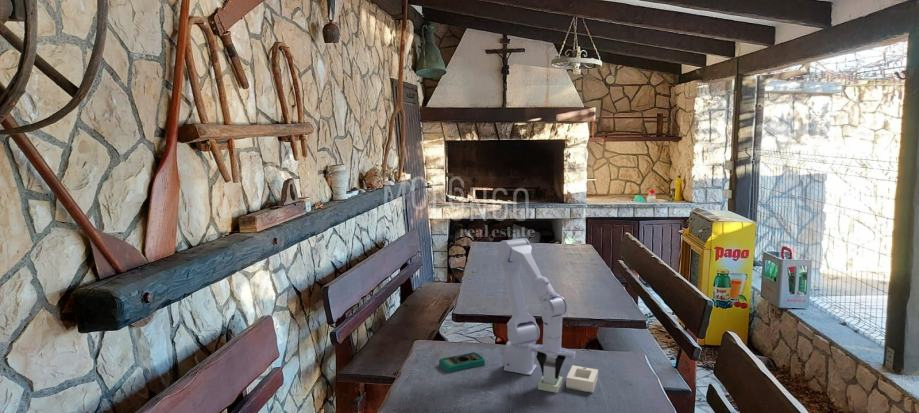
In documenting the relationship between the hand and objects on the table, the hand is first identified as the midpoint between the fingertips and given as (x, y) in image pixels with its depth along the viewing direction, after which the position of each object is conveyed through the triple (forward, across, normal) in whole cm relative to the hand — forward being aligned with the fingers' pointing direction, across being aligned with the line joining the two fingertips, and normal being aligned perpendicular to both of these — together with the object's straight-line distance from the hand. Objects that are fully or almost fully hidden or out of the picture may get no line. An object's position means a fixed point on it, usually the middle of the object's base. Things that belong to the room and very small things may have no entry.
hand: (550, 376), depth 178 cm
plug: (+3, 0, 0) cm, 3 cm away
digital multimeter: (+4, -31, +3) cm, 32 cm away
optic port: (+3, +9, +6) cm, 11 cm away
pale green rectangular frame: (+3, 0, 0) cm, 3 cm away
